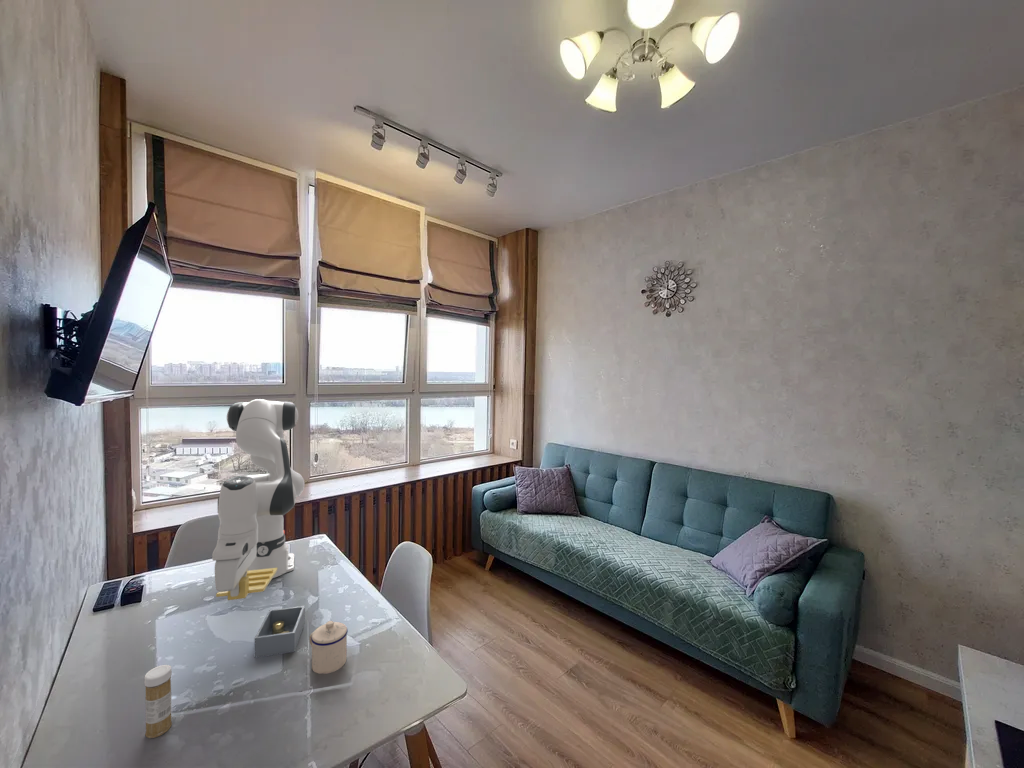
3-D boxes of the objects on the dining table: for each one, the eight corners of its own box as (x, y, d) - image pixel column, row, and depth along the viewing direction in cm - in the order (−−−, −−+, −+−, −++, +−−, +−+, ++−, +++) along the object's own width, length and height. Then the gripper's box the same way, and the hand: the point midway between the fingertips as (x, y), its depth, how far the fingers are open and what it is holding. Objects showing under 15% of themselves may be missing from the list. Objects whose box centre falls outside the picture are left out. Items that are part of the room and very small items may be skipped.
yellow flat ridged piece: (235, 574, 125) (236, 559, 126) (277, 570, 129) (277, 555, 129) (211, 602, 108) (212, 584, 108) (260, 596, 111) (260, 579, 111)
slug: (274, 631, 126) (274, 621, 126) (285, 629, 127) (285, 620, 127) (271, 637, 123) (271, 627, 123) (282, 635, 124) (282, 625, 124)
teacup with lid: (354, 659, 115) (355, 618, 115) (327, 681, 107) (327, 636, 107) (324, 646, 121) (324, 606, 120) (295, 666, 112) (296, 623, 112)
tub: (269, 629, 128) (269, 610, 128) (304, 624, 131) (304, 605, 130) (254, 659, 114) (254, 638, 114) (294, 653, 117) (294, 632, 117)
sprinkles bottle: (168, 718, 95) (168, 660, 94) (174, 728, 92) (174, 669, 92) (142, 732, 91) (141, 672, 91) (148, 743, 88) (147, 681, 88)
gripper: (238, 526, 120) (238, 573, 120) (209, 557, 100) (209, 613, 101) (262, 524, 122) (262, 570, 122) (239, 554, 102) (239, 609, 102)
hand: (238, 590), depth 111 cm, fingers closed on yellow flat ridged piece, 3 cm apart
